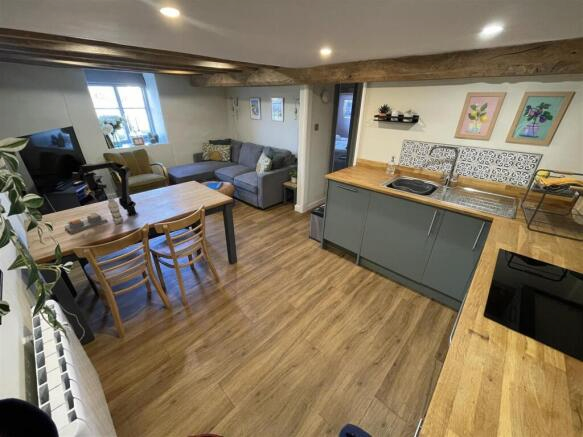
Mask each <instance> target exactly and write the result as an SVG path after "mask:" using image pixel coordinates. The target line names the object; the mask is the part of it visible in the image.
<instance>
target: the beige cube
mask: <svg viewBox="0 0 583 437" xmlns="http://www.w3.org/2000/svg"><path fill="white" fill-rule="evenodd" d="M98 215H99V214H98V213H97V212H91V213H88V214H87V217H88V216H89V218H94V217H98Z"/></svg>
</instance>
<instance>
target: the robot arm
mask: <svg viewBox="0 0 583 437" xmlns="http://www.w3.org/2000/svg"><path fill="white" fill-rule="evenodd" d="M78 168H79V170H78V172H74V171H73V172H72V173H71V177H70V178H71V180H72V182H74V183H83V182H85V184H86V185H85V187H84V191H85V192H88V193H89V194H90V196H92V197H93V199H95V200H96V201H97V202H99V201H100V195H103V194H105V191H104V189H105V190H106V189H107V186H108V184H106V183H103V182H102V181H96V179H95V176H97V173H95V172H94V171H98V170H103V169H104V170H105V169H111V170H112V171H114V172H116V173H117V175H118V177H119V178H120V185H121V188H120V189H121V196H120V197H118V204H119V205H120V206H121V207H122V208H123V210H125V211H126V212H127V213H126V216H128V217H133V216H136V215H138V214H139V213H138V212H137V211H136V204H137V203H136V202H135V201H133V200H132V197H131V196H130V190H129V189H130V185H129V178H130V175H131V168H130V167H129V166H127V165H124V164H122V163H118V162H116V161H114V160H111V161H107V162H100V163H85V164H83V165H80V166H79V167H78Z"/></svg>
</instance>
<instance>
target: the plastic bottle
mask: <svg viewBox="0 0 583 437" xmlns="http://www.w3.org/2000/svg"><path fill="white" fill-rule="evenodd" d="M107 202H108V203H107V208H108V209H109V211H110V213H111V218H112V222H113V223H114V224H115V225H118V224H122V223H123V222H124V218H123V216H122V214H121V210H120V207H119V202H117V201H115V198H114V197H108V198H107Z"/></svg>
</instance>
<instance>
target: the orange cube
mask: <svg viewBox="0 0 583 437" xmlns="http://www.w3.org/2000/svg"><path fill="white" fill-rule="evenodd" d="M80 220H81V219H80V218H78V217H75V218H71V219H69V222H71V224H75V223H78V222H80Z"/></svg>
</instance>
